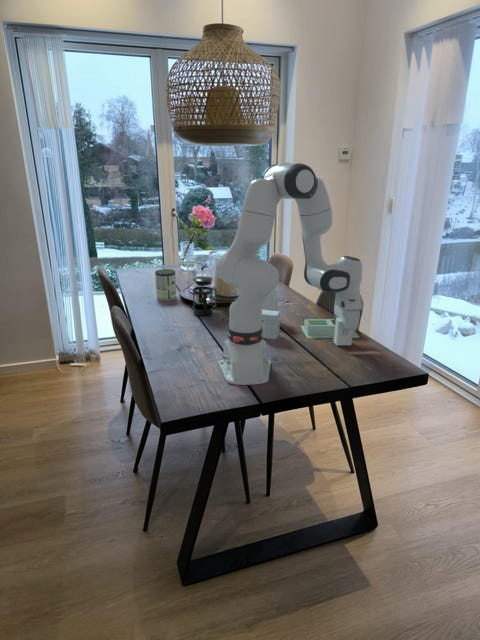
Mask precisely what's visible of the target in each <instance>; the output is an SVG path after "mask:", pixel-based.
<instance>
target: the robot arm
mask: <svg viewBox="0 0 480 640" xmlns="http://www.w3.org/2000/svg"><path fill="white" fill-rule="evenodd" d="M282 199H286V200H292V199H294V201H295V202H296V205H297V211H298V215H299V221H300V226H301V236H302V244H303V251H304V259H305V263H304V265H305V266H304V270H303V277H304V280H305V282H306V283H307V284H308V285H309V286H311V287H314V288H317V289H318V290H320V291H321V292H324V294H325V293H326V294H328V295H329V294H330V295H331V294H335V297H334V298H335V300H334V307H333V314H334V313H335V315H336V316H337V317H338V318H339V319H340V320H341V321H342V323H343V325H344V327H345V328H344V330H343V335H344V336H348V334H349V330H356V331H357V329H358V328H359V325H360V324H359V323H360V317H361V311H362V309H363V304H362V303H363V302H362V301H361V286H360V285H361V284H362V280H363V279H362V278H363V263H362V261H361V260H360V259H359V258H358V257H353V256H350V255H343V256H341V257H340V258H339V259H338V260H337V261H336V262H334V263H331V264H328V263H326V261H325V260H324V259H323V256H322V255H323V254H322V246H321V245H322V244H321V239H322V238H321V237H322V235H324V234H326V233H327V232H328V231H329V230H330V229H331V227H332V225H333V212H332V206H331V202H330V201H331V200H330V196H329V194H328V190H327V187H326V185H325V183H324V181H323V180H322V179H321V178H320V177H317V176H316V173H315V172H314V170H313V169H312V167H310V166H309V165H307V164H306V163H305V164H304V163H300V162H299V163H291V162H284V163H279V164H278V163H277V164H272V165H270V166H268V167H267V168H266V169H265V170H264V171H263V173H262V174H261V177H260V178H256V179H253V180H252V181H251V182H250V183H249V185H248V187H247V190H246V193H245V196H244V199H243V203H242V207H241V211H240V215H239V216H240V217H239V221H238V225H237V229H236V234H235V237H234V239H233V240H232V243H231V245H230V246H229V248H228V249H227V251H226V252H224V253H223V254H222V255H220V257H219V258H218V259H217V261H216V263H215V274H216V275H217V277H218V278H219V279H220V280H221V281H222V282H224V283H225V284H227V285H230V286H232V287H235V288H238V291H239V293H238V295H237V296H238V297H237V299H236V300H234V301H233V302H231V304H230V306H229V310H228V311H229V315H228V316H229V317H228V318H229V319H228V321H229V322H228V323H229V324H228V327H227V339H226V340H225V341H224V342H223V356H222V359H221V360H219V361H218V362H217V365H218V367H219V369H220V372H221V374H222V375H223V377H224V380H225V381H226V383H228V384H231V385H239V386H241V385H242V386H255V385H261V384H262V385H263V384H266V383H268V382H269V379H270V378H269V377H270V372H271V371H270V370H271V365H272V364H271V363H272V362H271V360H270V359H269V356H268V355H266V353H268V348H266V341H265V340H264V338H262V334H263V331H262V327H261V319H262V308H263V304H264V301H265V299H266V297H267V296H268V295H269V294H270V293H272V292H273V291H274V290H276V288H277V287H278V285H279V281H280V273H279V271H278V268H277V267H276V266H274V265H273V264H271V263H270V262H268V261H266V260H263V259H259V258H257V257H256V256H257V254H258V253H259V251H260V249H261V248H262V247H264V246H266V245H268V243H269V242H270V240H271V239H272V232H273V228H274V224H275V220H276V218H275V217H276V214H277V213H276V212H277V206H278V205H279V204H280V203H279V202H280V201H281V200H282Z"/></svg>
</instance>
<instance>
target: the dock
mask: <svg viewBox="0 0 480 640" xmlns="http://www.w3.org/2000/svg"><path fill="white" fill-rule="evenodd" d="M333 320H334V318H332V319H331V318H327V319H325V318H322V319H321V318H318V319H317V318H316V319H315V318H313V319H312V318H311V319H304V321H303V325H300V329H301V330H302V331H303V333H304V336H305V337H306V339H334V333H335V325H334V324H333ZM360 337H361V336H359V334H358V333H357V329H356V330H353V336H352V339H354V338H356V339H357V338H358V339H359V338H360Z"/></svg>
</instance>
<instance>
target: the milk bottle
mask: <svg viewBox="0 0 480 640" xmlns="http://www.w3.org/2000/svg"><path fill="white" fill-rule="evenodd" d="M262 310H270V311H278V293H277V291H276V289H275V290H274V291H273V292H272V293H270V294H269V295H268V296H267V297H266V299H265V301H264V304H263V308H262Z"/></svg>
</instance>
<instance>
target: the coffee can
mask: <svg viewBox="0 0 480 640" xmlns="http://www.w3.org/2000/svg"><path fill="white" fill-rule="evenodd" d="M154 275H155V288H156V299H157V300H158V301H165V302H167V301H173V300H175V299H177V285H176V281H177V280H176V270H174V269H169V268H165V269H157V270H156V271H155V272H154Z"/></svg>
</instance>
